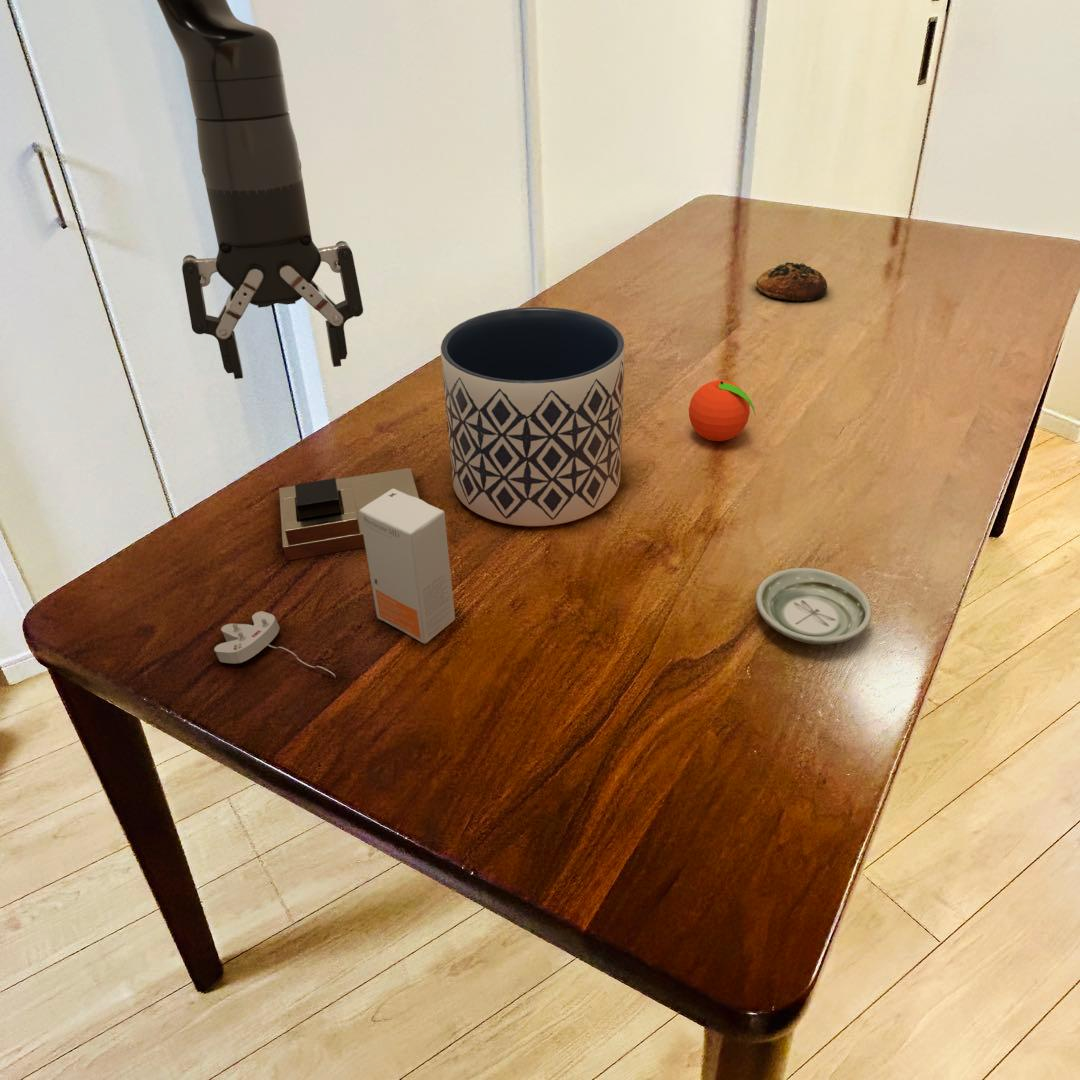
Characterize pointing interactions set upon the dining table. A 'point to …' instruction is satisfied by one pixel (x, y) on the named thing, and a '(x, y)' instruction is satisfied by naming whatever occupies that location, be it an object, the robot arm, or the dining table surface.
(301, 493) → the key
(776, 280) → the bread roll
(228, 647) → the game controller
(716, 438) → the clementine
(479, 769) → the dining table surface
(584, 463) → the planter
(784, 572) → the saucer
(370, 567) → the cosmetic box
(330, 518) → the keypad
